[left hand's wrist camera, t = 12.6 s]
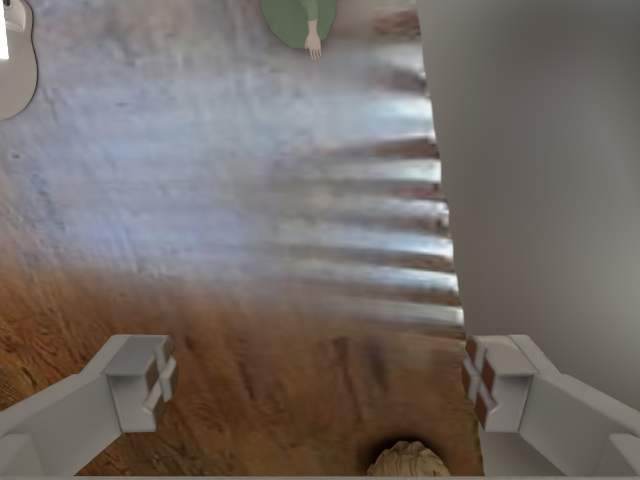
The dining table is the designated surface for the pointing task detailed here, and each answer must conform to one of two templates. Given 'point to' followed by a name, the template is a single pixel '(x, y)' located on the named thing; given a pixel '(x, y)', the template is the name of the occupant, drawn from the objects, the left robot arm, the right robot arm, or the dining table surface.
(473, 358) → the left robot arm
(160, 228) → the dining table surface
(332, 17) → the character figurine
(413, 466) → the fossil
